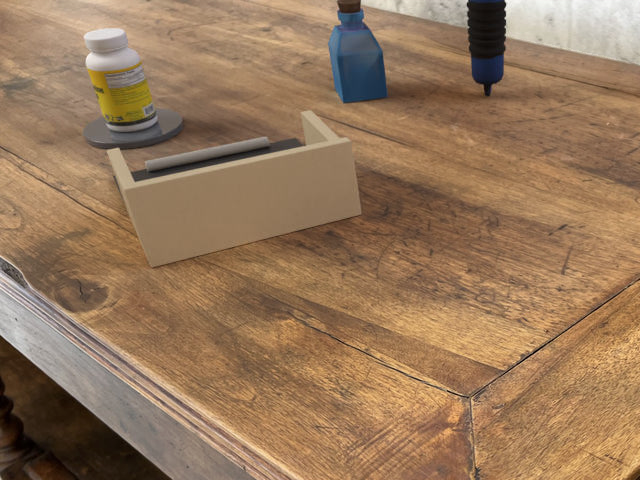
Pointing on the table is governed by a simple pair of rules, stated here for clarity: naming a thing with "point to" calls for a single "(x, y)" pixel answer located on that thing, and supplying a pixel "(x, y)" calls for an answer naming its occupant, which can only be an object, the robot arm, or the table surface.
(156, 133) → the trivet
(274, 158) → the shallow cardboard crate
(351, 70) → the perfume bottle
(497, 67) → the blue black cylinder
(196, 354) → the table surface
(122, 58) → the pill bottle
